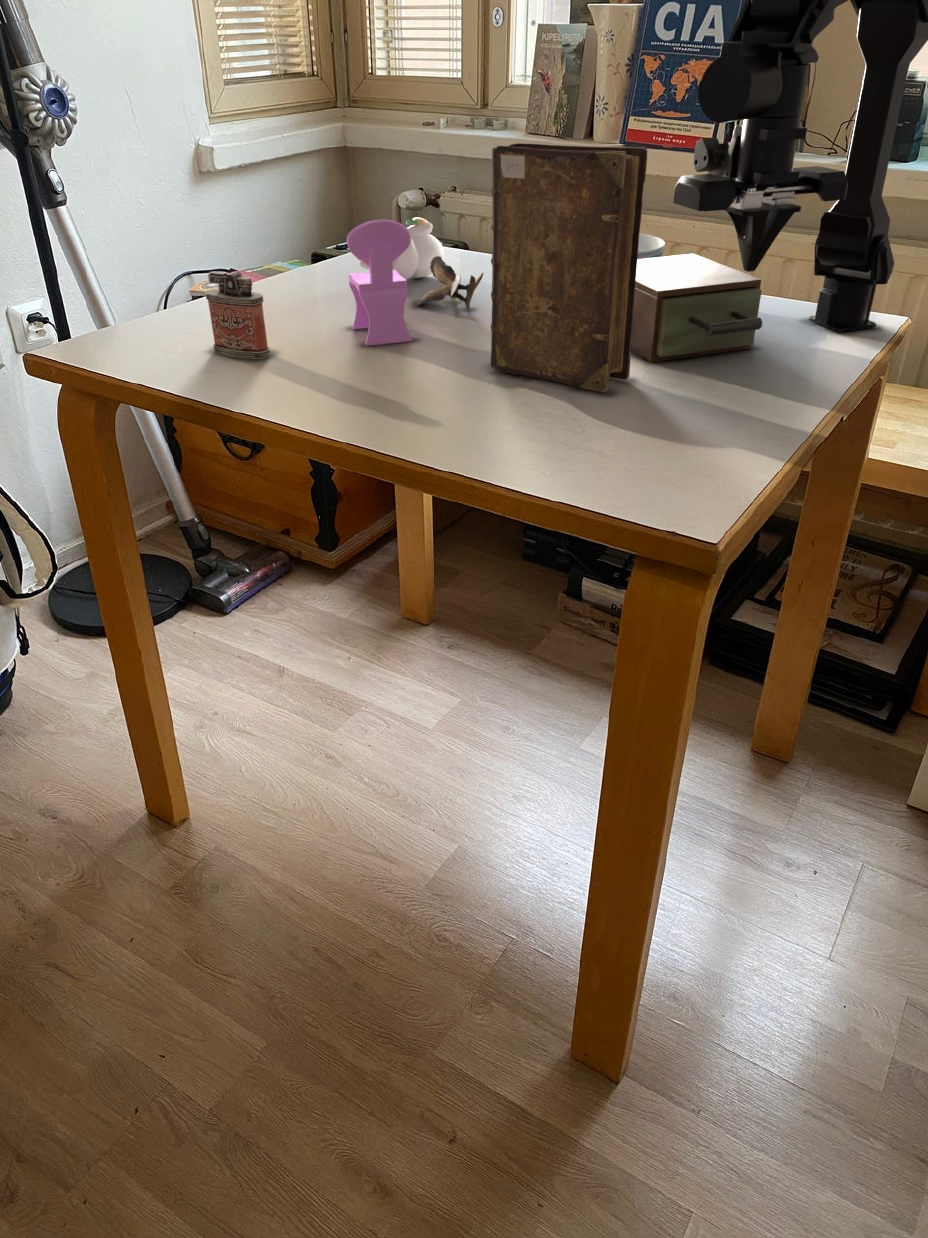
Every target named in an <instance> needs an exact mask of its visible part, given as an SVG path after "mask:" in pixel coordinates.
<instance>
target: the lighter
mask: <svg viewBox="0 0 928 1238" xmlns="http://www.w3.org/2000/svg"><path fill="white" fill-rule="evenodd" d="M207 276H208V277H207V278H208V283H209V284H216V285H218V288H213V289H208V290H206V291H205V292H204V294H205V299H206V300H207V303H208V309H209V317H210V321H211V323H210V324H211V327H212V328H211V329H212V335H213V342H214V343H213V352H214V353H216V354H219V355H223V356H228V357H233V358H242V359H251V360H262V359H266V358H268V357H270V356H271V350H270V347H269V346H268V338H267V337H268V336H267V330H266V322H265V313H264V306H263V303H264V295H263V294H262V293H259V292H254V291H252V290H253V280H252V279H253V277H251V276H245V275H242V273H241V272H239V271H233V272H230V273H227V272H222V271H216V270H215V271H214V270H213V271H209V272H208V274H207Z"/></svg>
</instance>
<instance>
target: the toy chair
mask: <svg viewBox="0 0 928 1238" xmlns="http://www.w3.org/2000/svg"><path fill="white" fill-rule="evenodd" d="M408 228H409V227H406V225H405V224H402V223H400V222H398V221H395V220H391V219H385V218H384V219H373V220H368V221H365V222H363V223H361V224H358V225H357V226H355V227H354V228H352V229H351V230H350V231H349V232H348V234H347V236H346V245H347V248H348V250H349V252H350V253H351V255H353V256H354V257H355V258H356V259H357V260H358V261H359V262H360V261H362V262H364V263H365V264H367V265H368V266H369V270H368V271H369V272H351V273H348V285H349V288H350V290H351V292H352V294H353V297H354V301H355V315H354V320H353V324H352V329H353V330H359V329H368V330H367V336H366V339H365V343H364V345H365V346H367V347H368V346H379V345H387V344H395V343H396V344H397V343H407V342H412V341H413V339H412V337H411V334H410V333H409V330H408V328H407V325H406V322H405V317H404V316H405V313H404V311H405V305H406V301H407V298H408V293H409V290H408V279H407V280H406V279H405V278H403V277H401V276H400V275H399V273H398V272H397V271H396V270H393V261H394V260H395V259H397V258H398V257H399V256H400V255H401V254H402V253H403V252H404V251H405V250H406V249H407V248H408V247H409V245H410V240H411V236H410V232H409V230H408Z"/></svg>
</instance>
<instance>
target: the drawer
mask: <svg viewBox="0 0 928 1238" xmlns="http://www.w3.org/2000/svg"><path fill="white" fill-rule="evenodd" d="M761 297H762V289H761V288H760V289H758V288H749V289H745V288H739V289H730V290H721V291H713V292H704V293H696V294H687V295H679V296H670V297H662V298H663V299H662V303H661V312H660V322H659V332H658V342H657V351H656V355H658V356H660V357H666V356H674V355H681V354H688V353H695V352H703V351H710V350H717V349H724V348H732V347H739V346H746V345H751V346H753V345H754V340H755V335H756V330H757V331H758V330H761V328H762V327H763V320H762V318H761V317H759V310H760V303H761Z"/></svg>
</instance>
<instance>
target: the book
mask: <svg viewBox="0 0 928 1238" xmlns="http://www.w3.org/2000/svg"><path fill="white" fill-rule="evenodd" d="M647 163H648V148H647V147H644V146H592V145H591V146H589V145H587V146H584V145H559V144H558V145H557V144H541V143H522V142H521V143H512V144H509V145H496V147H493V148H492V149H491V179H492V180H491V181H492V183H491V184H492V188H491V190H490V193H491V196H492V199H491V200H492V201H491V204H492V205H491V206H492V213H491V215H492V218H491V219H492V220H491V221H492V223H491V226H490V229H491V232H492V234H491V236H492V237H491V238H492V239H491V258H490V263H491V292H490V297H491V323H490V331H491V343H490V345H491V346H490V360H489V361H490V362H489V364H490V366H491V368H493V369H495V370H497V371H500V372H505V373H510V374H511V375H512V374H513V375H520V376H527V377H533V378H537V379H543V380H547V381H548V380H550V381H553V382H556V383H563V384H566V385H570V386H572V387H577V388H580V389H584V390H590V391H595V392H600V393H604V392H608V391H609V390H610V378H611V379H617V380H623V381H627V380H628V379H629V378H630V372H631V359H632V351H631V335H632V329H633V308H634V298H635V282H636V271H637V259H638V244H639V233H640V231H641V222H642V215H643V195H644V189H645V188H644V187H645V183H646V176H647Z"/></svg>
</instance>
